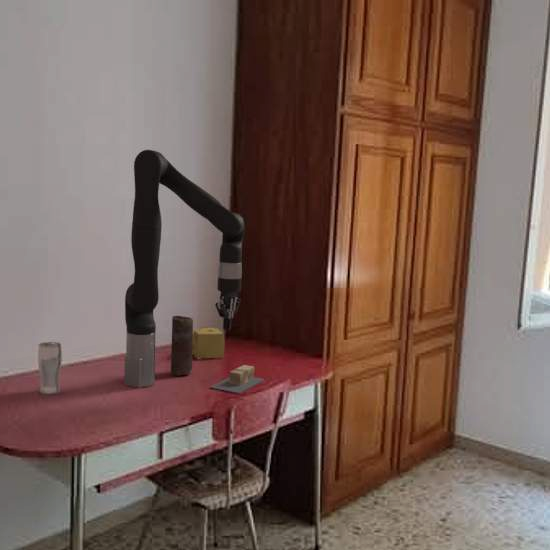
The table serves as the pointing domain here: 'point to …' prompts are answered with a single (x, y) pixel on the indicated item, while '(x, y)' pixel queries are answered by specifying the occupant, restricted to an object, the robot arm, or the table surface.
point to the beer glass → (49, 366)
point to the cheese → (208, 343)
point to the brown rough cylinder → (181, 345)
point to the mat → (234, 388)
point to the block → (241, 375)
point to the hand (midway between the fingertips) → (227, 329)
